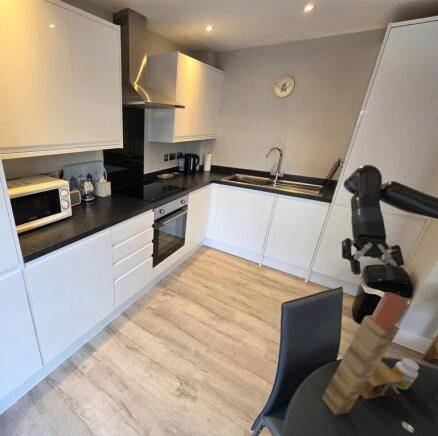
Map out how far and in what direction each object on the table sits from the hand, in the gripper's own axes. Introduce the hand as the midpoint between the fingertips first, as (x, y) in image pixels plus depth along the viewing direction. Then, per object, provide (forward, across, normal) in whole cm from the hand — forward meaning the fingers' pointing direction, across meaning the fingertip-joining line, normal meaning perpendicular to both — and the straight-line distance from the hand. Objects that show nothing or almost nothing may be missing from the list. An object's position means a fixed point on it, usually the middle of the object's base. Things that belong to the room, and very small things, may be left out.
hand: (374, 277), depth 69 cm
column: (+37, 0, -24) cm, 44 cm away
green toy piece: (+31, -19, -29) cm, 46 cm away
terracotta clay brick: (+12, 0, +1) cm, 12 cm away
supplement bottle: (+26, -26, -35) cm, 51 cm away
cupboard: (+29, -15, -32) cm, 46 cm away
